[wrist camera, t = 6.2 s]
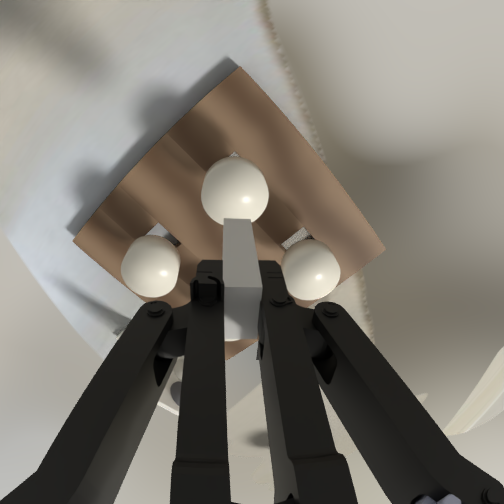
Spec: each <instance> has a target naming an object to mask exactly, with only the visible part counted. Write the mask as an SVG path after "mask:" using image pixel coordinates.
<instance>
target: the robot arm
mask: <svg viewBox="0 0 504 504" xmlns="http://www.w3.org/2000/svg"><path fill="white" fill-rule="evenodd" d="M190 296H191V301H190V302H189V303H187V304H185V305H183V306H180V307H176V308H172V307H171V305H169V304H168V303H167V302H164V301H157V300H155V301H149V302H147V303H145V304H143V305H142V306H141V307H140V309H139V310H138V311H137V313H136V314H135V316H134V317H133V319H132V320H131V321H130V323H129V324H128V326H127V327H126V329H125V330H124V332H123V333H122V335H121V336H120V338H119V339H118V341H117V342H116V343H115V345H114V346H113V348H112V349H111V351H110V352H109V354H108V355H107V357H106V358H105V360H104V362H103V363H102V365H101V366H100V368H99V369H98V371H97V372H96V374H95V375H94V377H93V379H92V380H91V382H90V383H89V385H88V387H87V388H86V389H85V391H84V393H83V394H82V396H81V398H80V399H79V400H78V402H77V404H76V405H75V407H74V409H73V410H72V412H71V413H70V415H69V417H68V418H67V420H66V422H65V423H64V425H63V427H62V428H61V430H60V432H59V433H58V435H57V437H56V438H55V440H54V442H53V443H52V445H51V447H50V449H49V450H48V452H47V454H46V456H45V458H44V459H43V461H42V463H41V464H40V466H39V468H38V470H37V471H36V472H35V473H33V474H32V475H31V476H30V477H29V478H27V479H26V480H25V481H24V482H23V483H21V484H20V485H19V486H18V487H17V488H15V489H14V490H13V491H12V492H10V493H9V494H8V495H7V496H6V497H4V498H3V499H2V500H1V501H0V504H113V503H114V501H115V499H116V496H117V494H118V492H119V489H120V487H121V484H122V482H123V480H124V478H125V476H126V473H127V471H128V469H129V466H130V464H131V462H132V459H133V457H134V455H135V453H136V450H137V448H138V446H139V444H140V441H141V439H142V437H143V435H144V432H145V430H146V428H147V426H148V423H149V421H150V419H151V417H152V415H153V412H154V410H155V408H156V405H157V403H158V401H159V399H160V397H161V395H162V392H163V390H164V388H165V386H166V384H167V382H168V379H169V377H170V375H171V373H172V371H173V368H174V366H175V364H176V362H177V358H178V357H181V356H184V363H183V373H182V383H181V394H180V406H179V419H178V431H177V446H176V458H175V460H174V462H173V465H172V473H171V492H170V504H238V503H234V502H231V495H230V477H229V476H230V474H229V462H228V442H227V415H226V385H225V384H226V382H225V339H257V336H258V337H259V341H258V350H257V359H256V360H259V362H260V370H261V379H262V388H263V396H264V404H265V413H266V421H267V429H268V438H269V446H270V454H271V462H272V470H273V478H274V487H275V494H274V504H358V502H357V498H356V494H355V490H354V486H353V482H352V478H351V474H350V471H349V467H348V463H347V461H346V458H345V457H344V455H343V454H340V453H338V452H337V451H336V448H335V445H334V441H333V437H332V433H331V429H330V425H329V421H328V418H327V414H326V410H325V406H324V403H323V399H322V395H321V391H320V388H319V385H320V387H321V389H322V390H323V392H324V394H325V395H326V397H327V399H328V400H329V402H330V404H331V405H332V407H333V409H334V410H335V412H336V414H337V415H338V417H339V419H340V420H341V422H342V424H343V425H344V427H345V429H346V430H347V432H348V434H349V435H350V437H351V439H352V440H353V442H354V444H355V445H356V447H357V449H358V450H359V452H360V453H361V455H362V457H363V458H364V460H365V462H366V463H367V465H368V467H369V468H370V470H371V471H372V473H373V475H374V476H375V478H376V480H377V481H378V483H379V485H380V486H381V488H382V490H383V491H384V493H385V494H386V496H387V497H388V499H389V500H390V501H391V503H392V504H504V487H503V485H502V484H501V483H500V482H499V481H498V480H496V479H495V478H493V477H492V476H490V475H489V474H487V473H486V472H484V471H483V470H481V469H480V468H478V467H477V466H476V465H474V464H473V463H471V462H470V461H468V460H467V459H465V458H464V457H463V456H461V455H460V454H459V453H458V452H457V450H456V449H455V448H454V446H453V445H452V444H451V443H450V441H449V440H448V438H447V437H446V436H445V435H444V433H443V432H442V431H441V429H440V428H439V427H438V425H437V424H436V423H435V421H434V420H433V419H432V418H431V416H430V415H429V414H428V412H427V411H426V410H425V409H424V407H423V406H422V405H421V403H420V402H419V401H418V399H417V398H416V397H415V396H414V395H413V393H412V392H411V390H410V389H409V388H408V387H407V385H406V384H405V383H404V382H403V380H402V379H401V378H400V377H399V375H398V374H397V373H396V372H395V370H394V369H393V368H392V367H391V365H390V364H389V363H388V362H387V360H386V359H385V358H384V357H383V355H382V354H381V353H380V352H379V350H378V349H377V348H376V347H375V345H374V344H373V343H372V342H371V341H370V339H369V338H368V337H367V336H366V334H365V333H364V332H363V331H362V330H361V328H360V327H359V326H358V325H357V323H356V322H355V321H354V320H353V319H352V317H351V316H350V315H349V314H348V313H347V311H346V310H345V309H344V308H343V307H342V306H340V305H338V304H336V303H333V302H321V303H318V304H317V305H316V306H315V309H310V308H305V307H302V306H299V305H297V304H296V302H295V300H294V298H293V297H291V296H290V295H289V294H288V290H287V286H286V283H285V279H284V276H283V272H282V269H281V266H280V265H279V264H278V263H277V262H276V261H275V260H258V258H257V252H256V247H255V241H254V235H253V229H252V224H251V219H234V218H224V223H223V257H222V260H201V262H200V263H199V264H198V265H197V271H196V277H194V278H193V279H192V280H191V282H190Z"/></svg>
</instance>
